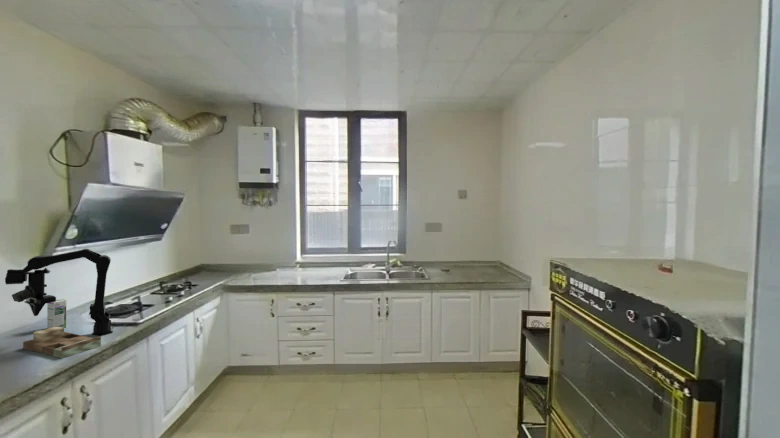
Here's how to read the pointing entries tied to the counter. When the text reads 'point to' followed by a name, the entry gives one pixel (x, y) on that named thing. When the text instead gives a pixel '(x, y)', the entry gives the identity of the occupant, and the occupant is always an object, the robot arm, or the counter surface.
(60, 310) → the syrup box
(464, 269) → the counter surface
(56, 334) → the maple slab
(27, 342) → the trap deck
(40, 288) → the robot arm
